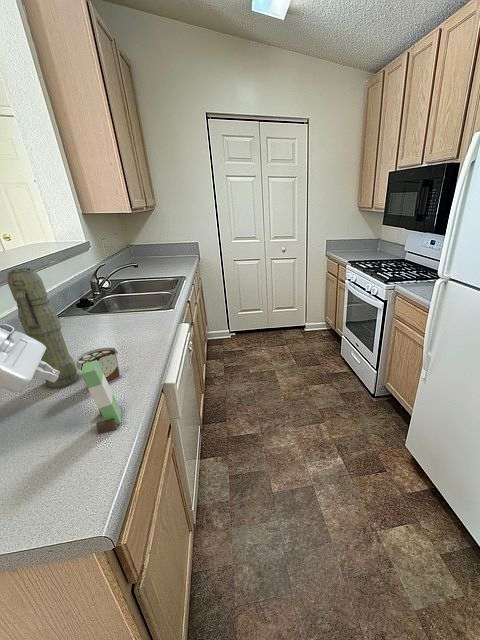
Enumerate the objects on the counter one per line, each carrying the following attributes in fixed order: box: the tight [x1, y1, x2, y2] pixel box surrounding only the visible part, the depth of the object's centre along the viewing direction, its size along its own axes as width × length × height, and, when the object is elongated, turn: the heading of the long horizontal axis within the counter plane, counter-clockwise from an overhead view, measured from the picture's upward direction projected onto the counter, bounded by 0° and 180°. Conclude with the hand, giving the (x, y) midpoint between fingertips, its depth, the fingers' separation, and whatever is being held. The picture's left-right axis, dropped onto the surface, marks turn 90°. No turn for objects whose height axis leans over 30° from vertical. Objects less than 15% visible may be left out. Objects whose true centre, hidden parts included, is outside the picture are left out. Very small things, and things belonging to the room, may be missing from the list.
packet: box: [80, 360, 122, 425], centre depth 83 cm, size 16×6×3 cm
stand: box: [95, 407, 118, 435], centre depth 86 cm, size 4×10×2 cm, turn 25°
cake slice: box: [75, 347, 121, 384], centre depth 103 cm, size 12×6×10 cm, turn 154°
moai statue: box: [7, 267, 80, 389], centre depth 98 cm, size 9×12×35 cm
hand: (57, 377), depth 78 cm, fingers closed
